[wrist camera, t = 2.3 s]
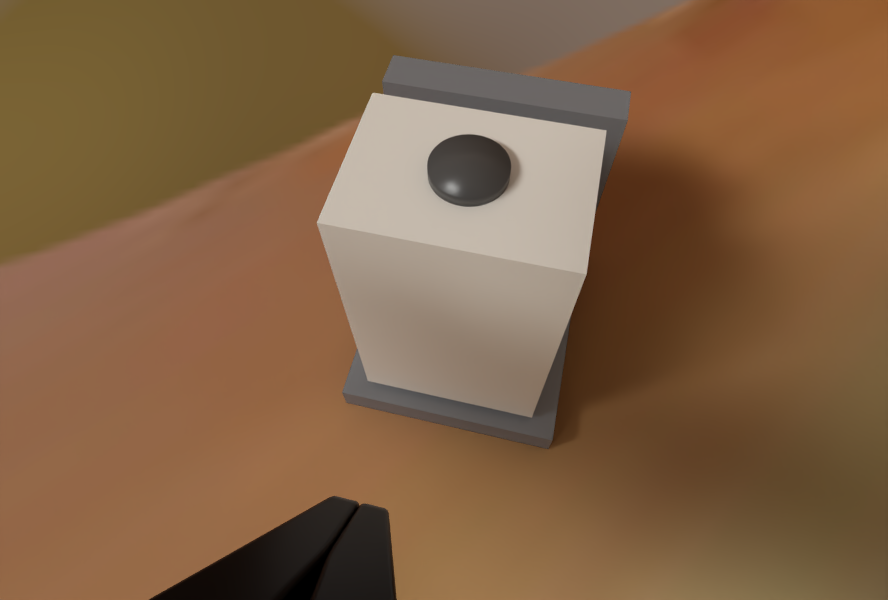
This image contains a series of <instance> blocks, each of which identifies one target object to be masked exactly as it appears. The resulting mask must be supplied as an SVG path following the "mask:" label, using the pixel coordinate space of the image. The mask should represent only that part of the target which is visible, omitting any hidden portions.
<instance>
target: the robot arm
mask: <svg viewBox="0 0 888 600" xmlns="http://www.w3.org/2000/svg"><path fill="white" fill-rule="evenodd" d="M149 600H397V599H396V588H395V577H394V566H393V555H392V544H391V533H390V522H389V513H388V510H386V509H385V508H381V507H377V506H373V505H369V504H361V505H360V506H359V503H358V502H356V501H353V500H349V499H345V498H341V497H337V496H332V497H329V498H327V499H326V500H324V501H322V502H320V503H319V504H317V505H315V506H313V507H312V508H310V509H308V510H306V511H304V512H303V513H301V514H299V515H297V516H296V517H294V518H292V519H290V520H289V521H287V522H285V523H283V524H282V525H280V526H278V527H276V528H274V529H273V530H271V531H269V532H267V533H266V534H264V535H262V536H260V537H259V538H257V539H255V540H253V541H251V542H250V543H248V544H246V545H244V546H243V547H241V548H239V549H237V550H236V551H234V552H232V553H230V554H229V555H227V556H225V557H223V558H221V559H220V560H218V561H216V562H214V563H213V564H211V565H209V566H207V567H206V568H204V569H202V570H200V571H198V572H197V573H195V574H193V575H191V576H190V577H188V578H186V579H184V580H183V581H181V582H179V583H177V584H176V585H174V586H172V587H170V588H168V589H167V590H165V591H163V592H161V593H160V594H158V595H156V596H154V597H153V598H151V599H149Z"/></svg>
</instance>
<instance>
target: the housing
mask: <svg viewBox="0 0 888 600" xmlns="http://www.w3.org/2000/svg"><path fill="white" fill-rule="evenodd" d="M382 83H383V91H384V95H390V96H396V97H403V98H409V99H415V100H421V101H427V102H434V103H440V104H446V105H452V106H458V107H465V108H471V109H477V110H483V111H489V112H495V113H502V114H508V115H514V116H520V117H526V118H533V119H539V120H545V121H551V122H557V123H564V124H570V125H576V126H582V127H588V128H594V129H601V130H607V131H606V138H605V146H604V153H603V160H602V167H601V174H600V181H599V189H598V196H597V203H596V210H597V207H598V204H599V201H600V198H601V195H602V193H603V190H604V187H605V184H606V181H607V178H608V175H609V172H610V170H611V167H612V164H613V161H614V158H615V155H616V152H617V149H618V147H619V144H620V141H621V138H622V135H623V132H624V129H625V126H626V124H627V121H628V113H629V104H630V96H631V92H630V91H624V90H617V89H611V88H604V87H598V86H591V85H585V84H578V83H572V82H565V81H558V80H552V79H545V78H539V77H532V76H526V75H519V74H513V73H505V72H499V71H493V70H486V69H479V68H473V67H466V66H460V65H454V64H447V63H441V62H434V61H427V60H421V59H414V58H407V57H401V56H395V55H393V57H392V60H391V62H390V64H389V67H388V69H387V72H386V74H385V77H384V79H383V81H382ZM596 210H595V213H596ZM570 319H571V316H570ZM570 319H569V322H568V324H567V327H566V329H565V332H564V335H563V337H562V340H561V342H560V345H559V348H558V350H557V353H556V356H555V358H554V361H553V363H552V366H551V369H550V371H549V374H548V376H547V379H546V382H545V384H544V387H543V389H542V392H541V395H540V397H539V400H538V403H537V405H536V408H535V410H534V413H533V416H532V418H531V417H527V416H522V415H518V414H513V413H509V412H504V411H500V410H495V409H491V408H487V407H482V406H478V405H473V404H469V403H464V402H460V401H455V400H451V399H446V398H442V397H438V396H433V395H429V394H424V393H420V392H415V391H411V390H406V389H402V388H397V387H393V386H388V385H384V384H380V383H375V382H371V381H368V380H367V376H366V373H365V370H364V367H363V364H362V361H361V358H360V355H359V352H358V349H357V351H356V354H355V357H354V360H353V363H352V365H351V368H350V371H349V374H348V377H347V380H346V383H345V386H344V389H343V392H342V393H343V395H344V398H345V400H346V402H347V403H351V404H355V405H359V406H364V407H368V408H372V409H377V410H381V411H386V412H390V413H394V414H399V415H403V416H407V417H412V418H416V419H420V420H425V421H429V422H433V423H438V424H442V425H446V426H451V427H455V428H459V429H464V430H468V431H472V432H477V433H481V434H485V435H490V436H494V437H499V438H503V439H507V440H512V441H516V442H520V443H525V444H529V445H533V446H538V447H542V448H546V449H548V448H549V446H550V444H551V442H552V440H553V433H554V427H555V420H556V413H557V407H558V400H559V393H560V386H561V380H562V373H563V366H564V360H565V353H566V346H567V339H568V333H569V326H570Z"/></svg>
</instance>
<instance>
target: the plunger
mask: <svg viewBox="0 0 888 600" xmlns="http://www.w3.org/2000/svg"><path fill="white" fill-rule="evenodd" d="M606 131H607V130H601V129H594V128H588V127H582V126H576V125H570V124H564V123H557V122H551V121H545V120H539V119H533V118H526V117H520V116H514V115H508V114H502V113H495V112H489V111H483V110H477V109H471V108H465V107H458V106H452V105H446V104H440V103H434V102H427V101H421V100H415V99H409V98H403V97H396V96H390V95H384V94H378V93H372V95H371V98H370V100H369V102H368V105H367V107H366V109H365V112H364V114H363V116H362V119H361V121H360V123H359V126H358V128H357V130H356V133H355V135H354V137H353V140H352V142H351V144H350V147H349V149H348V151H347V154H346V156H345V158H344V161H343V163H342V165H341V168H340V170H339V172H338V175H337V177H336V179H335V182H334V184H333V186H332V189H331V191H330V193H329V196H328V198H327V200H326V203H325V205H324V207H323V210H322V212H321V214H320V217H319V219H318V221H317V225H318V228H319V231H320V234H321V237H322V240H323V243H324V246H325V250H326V253H327V256H328V259H329V262H330V265H331V268H332V271H333V274H334V277H335V280H336V284H337V287H338V290H339V293H340V296H341V299H342V302H343V305H344V308H345V311H346V315H347V318H348V321H349V324H350V327H351V330H352V333H353V336H354V339H355V342H356V345H357V349H358V352H359V355H360V358H361V361H362V364H363V367H364V370H365V373H366V376H367V380H368V381H371V382H375V383H380V384H384V385H388V386H393V387H397V388H402V389H406V390H411V391H415V392H420V393H424V394H429V395H433V396H438V397H442V398H446V399H451V400H455V401H460V402H464V403H469V404H473V405H478V406H482V407H487V408H491V409H495V410H500V411H504V412H509V413H513V414H518V415H522V416H527V417H531V418H532V416H533V413H534V410H535V408H536V405H537V403H538V400H539V397H540V395H541V392H542V389H543V387H544V384H545V382H546V379H547V376H548V374H549V371H550V369H551V366H552V363H553V361H554V358H555V356H556V353H557V350H558V348H559V345H560V342H561V340H562V337H563V335H564V332H565V329H566V327H567V324H568V322H569V319H570V316H571V314H572V311H573V308H574V306H575V303H576V301H577V298H578V295H579V293H580V290H581V288H582V285H583V282H584V280H585V277H586V275H587V267H588V260H589V253H590V246H591V239H592V232H593V224H594V217H595V210H596V203H597V196H598V189H599V181H600V174H601V167H602V160H603V153H604V146H605V138H606Z"/></svg>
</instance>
